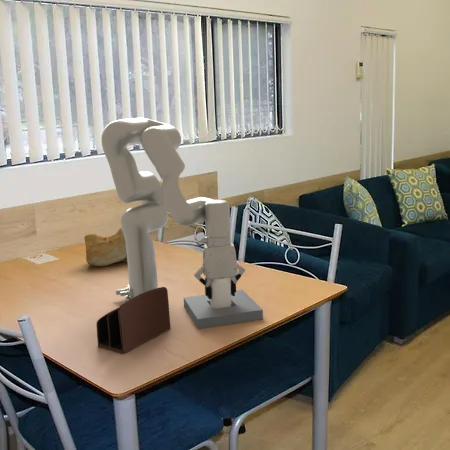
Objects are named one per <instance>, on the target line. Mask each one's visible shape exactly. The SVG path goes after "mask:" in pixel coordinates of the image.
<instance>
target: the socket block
mask: <svg viewBox="0 0 450 450" xmlns="http://www.w3.org/2000/svg"><path fill="white" fill-rule="evenodd" d="M183 307H184V308H185V310H186V312H187V313H188V315H189V316H190V318H191V320H192V321H193V323H194V324H195V326H196V329H207V328H213V327H219V326H226V325H232V324H233V325H235V324H238V323H239V324H240V323H245V322H254V321H260V320H264V313H263V312H264V310H263V308H262V307H261V306H260V305H258V303H256V301H255V300H254V299H253V298H252V297H251V296H249V295H248V293H247V292H246V291H245V290H243V289H236V292H235V296H232V295H231V307H224V308H217V309H212V307H211V300H210V299H209V298H208V297H207V296H206V295H205V294H201V295H199V294H198V295H193V296H192V295H191V296H186V297H185V296H184V297H183Z"/></svg>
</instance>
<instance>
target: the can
mask: <svg viewBox="0 0 450 450" xmlns="http://www.w3.org/2000/svg"><path fill="white" fill-rule="evenodd" d="M210 287H211V296H212V299H210V300H211V307H212V309H217V308H224V307H231V279H230V277H228V278H218V279H212V280H211V283H210Z"/></svg>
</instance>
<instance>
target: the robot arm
mask: <svg viewBox="0 0 450 450" xmlns="http://www.w3.org/2000/svg"><path fill="white" fill-rule="evenodd" d="M181 141H182V136H181V134H180V132H179V130H178V129H177V128H176V127H175V126H173V125H171V124H168V123H165V122H161V121H158V120H154V119H149V118H145V117H135V118H122V119H117V120H114V121H111V122H109V123H108V124H106V126H105V127H104V129H103V131H102V135H101V147H102V151H103V153H104V155H105V158H106V159H107V163H108V165H109V169H110V171H111V172H110V173H111V177H112V181H113V183H114V187H115V190H116V194H117V197H118V199H119V200H120V201H121V202H122V203H124V204H135V203H139V202H140V203H141V204H139V205H136V206H132V207H129V208H128V209H126V210H125V211H124V212H123V214H122V216H121V218H120V225H121V226H120V227H121V228H122V230H123V233H124V237H125V243H126V252H127V272H128V284H127V286H125V287H124V288H117V289H115V295H116V296H120V297H124V296H125V300H126V302H127V301H129V300H130V299H132V298H134V297H136V296H138V295H140V294H142V293H144V292H147V291H150V290H153V289H156V288H159V284H158V273H157V270H158V269H157V259H156V258H157V257H156V256H157V255H156V246H155V242H154V240H153V238H152V236H151V235H150V233H151V232H155V231H157V230H160V229H162V228H163V227H165V226H166V224H167V223H168V220H169V214H170V216H171V217H172V219H173V220H174V221H175V223H176V224H177V225H179V226H182V227H189V226H193V225H197V224H198V223H202V222H205V223H204V224H205V225H204V226H205V235H204V238H201V243H202V244H204V247H203V251H202V252H203V256H202V266H200V268H199V269H198V270H197V271H196V272H194V274H193V275H194V277H195V279H197V280H198V281H199V282H200V283H201V284H202V285H203V286H204V293H205V294H204V295H206V296H207V297H208V298H209V299H212V296H211V287H210V283H211V280H212V279H218V278H228V277H229V278H230V280H231V295H232V296H235V292H236V290H237V283H238V281H239V280H240V279H241V277H242V276H243V275H244V273H245V271H246V268H244V266H242V265H240V264H239V263H238V261H237V260H238V259H237V254H236V249H235V245H234V243H233V242H232V237H231V236H232V235H231V234H232V232H231V213H230V212H231V211H230V210H231V209H230V203H229V201H228V200H224V199H213V198H210V197H205V196H199V197H198V196H197V197H195V198H190V199H186V197H185V196H184V195H183V193H182V191H181V188H180V184H179V182H180V181H179V180H180V176H181V174H182V173H183V172H184V170H185V168H186V165H185V163H184V161H183V159H182V158H181V156H180V154H179V153H178V152H177V149H179V148H180V146H181V143H182V142H181ZM135 145H141V146H142V149H143V151H144V152H145V153H146V155H147V157H148V159H149V160H150V162H151V164H152V165H153V167H154V168H155V169H154V170H156V172H157V173H158V175H159V178H160V179H161V181H159V179H158V178H157V176H156V175H155V174H154V173H152V172H151V171H146V170H145V171H139V169H138V167H137V163H136V159H135V157H134V155H133V154H132V153H131V152H130V150H129V149H128V148H127V147H128V146H135ZM160 182H161V183H160ZM202 274H203V275H204V277H205V278H203V277H202V276H201V275H202Z"/></svg>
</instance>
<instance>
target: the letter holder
mask: <svg viewBox="0 0 450 450" xmlns="http://www.w3.org/2000/svg"><path fill="white" fill-rule="evenodd" d="M171 329H172V328H171V319H170V304H169V292H168V288H167V287H165V286H161V287H158V288H156V289H153V290H150V291H147V292H144V293H142V294H140V295H138V296H136V297H134V298H132V299H130V300H129V301H126V302H124V303H123V304H121V305H120V306H119V307H117V308H115V309H113V310H111V311H109V312H107V313H106V314H104V315H102V316H101V317H100V318H99V319H98V320H97V321H96V338H97V347H98V348H100V349H104V350H107V351H112V352H114V353H119V354H123V355H125V354H126V353H128V352H131V351H132V350H134V349H136V348H138V347H140V346H142V345H143V344H146V343H148V342H149V341H151V340H153V339H155V338H157V337H158V336H160V335H161V334H164V333H165V332H168V331H169V330H171Z"/></svg>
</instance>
